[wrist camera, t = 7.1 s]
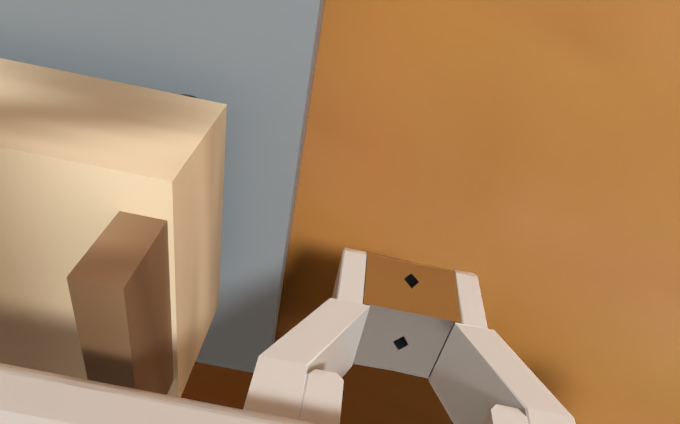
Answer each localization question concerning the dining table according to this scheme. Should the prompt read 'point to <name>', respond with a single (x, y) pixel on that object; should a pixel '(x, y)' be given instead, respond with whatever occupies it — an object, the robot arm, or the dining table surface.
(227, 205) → the dock
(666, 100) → the dining table surface
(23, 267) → the beige box with tab
